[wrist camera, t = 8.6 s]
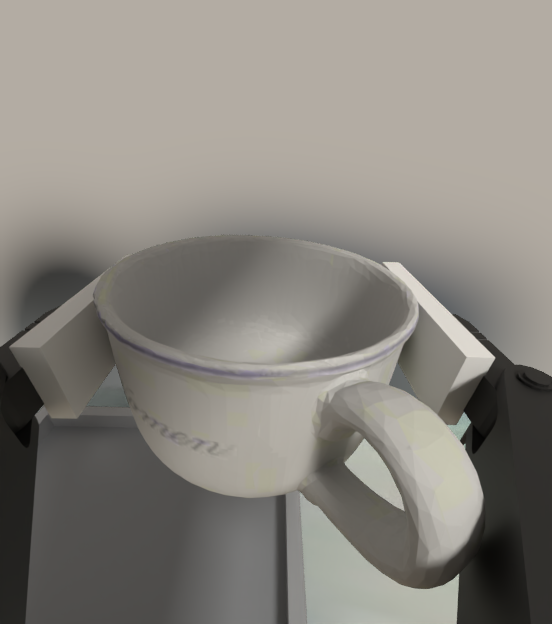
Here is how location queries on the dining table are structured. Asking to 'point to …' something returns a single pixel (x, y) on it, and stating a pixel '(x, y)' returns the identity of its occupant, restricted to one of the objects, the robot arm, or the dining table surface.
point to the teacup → (291, 390)
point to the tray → (151, 536)
